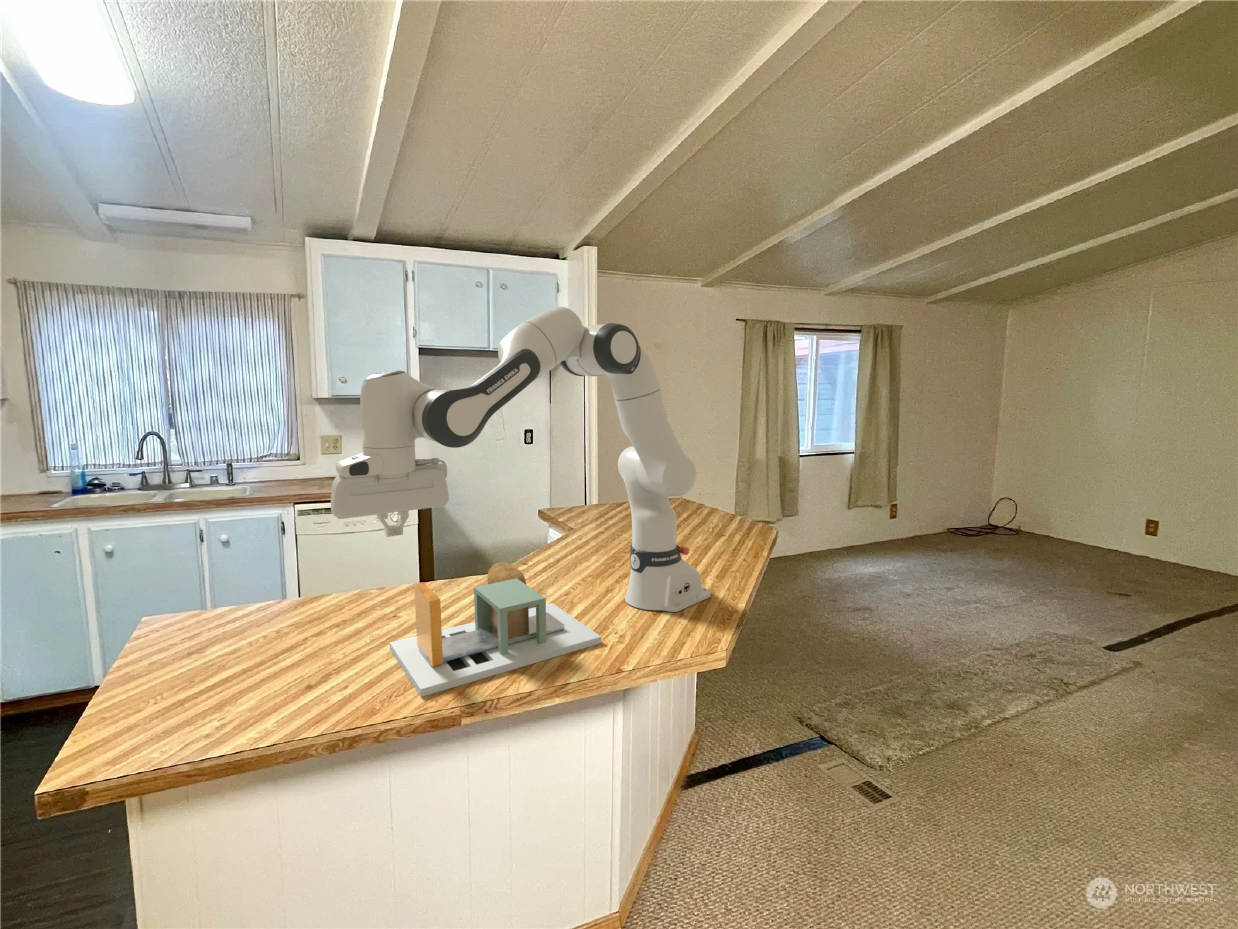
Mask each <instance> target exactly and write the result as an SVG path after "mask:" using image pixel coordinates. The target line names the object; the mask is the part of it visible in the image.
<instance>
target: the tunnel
mask: <svg viewBox="0 0 1238 929" xmlns="http://www.w3.org/2000/svg"><path fill="white" fill-rule="evenodd" d="M473 595H474V596H473V599H474V601H473V603H474V622H475V630H479V629H483V628H487V627H491V610H490V605H491V606H492V607H493V608H494V609H495V610H497V624H498V652H499V653H500V654H501V655H503V654H507V653H508V621H507V612H509V611H513V610H517V609H521V608H526V607H528V608H531V607H536V639H537V642H538V643H539V644H543V643H546V605H547V601H546V599H547V598H546V597H545V596H544V595H542V594H540V593H539V592H537V591H536V590H534V588H531V587H530V586H529V585H528V584H527V583H526V584H524V583H523V582H521V581H520V580H518V579H517V578H516V579H511V580H506V581H502V582H497V583H492V584H488V583H487V584H483V585H479V586H474V587H473Z"/></svg>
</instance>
